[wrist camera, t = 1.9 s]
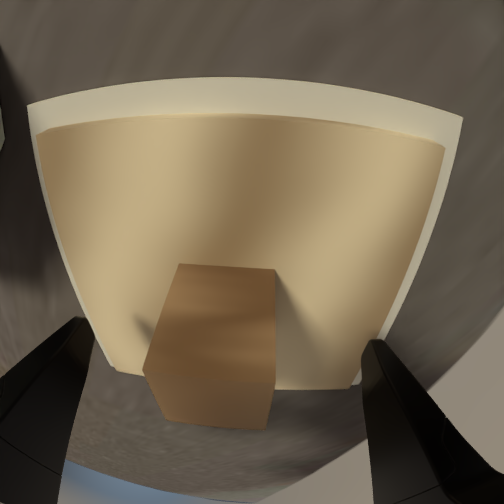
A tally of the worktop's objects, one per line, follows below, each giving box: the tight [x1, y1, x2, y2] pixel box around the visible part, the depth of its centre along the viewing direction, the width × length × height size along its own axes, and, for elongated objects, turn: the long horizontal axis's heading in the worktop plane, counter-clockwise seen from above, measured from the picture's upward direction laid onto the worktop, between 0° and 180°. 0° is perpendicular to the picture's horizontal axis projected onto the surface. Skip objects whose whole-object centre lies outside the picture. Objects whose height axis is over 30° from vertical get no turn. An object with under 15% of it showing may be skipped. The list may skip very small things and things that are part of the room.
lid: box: [36, 113, 446, 430], centre depth 9 cm, size 12×12×5 cm
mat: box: [27, 77, 463, 385], centre depth 11 cm, size 14×14×1 cm
